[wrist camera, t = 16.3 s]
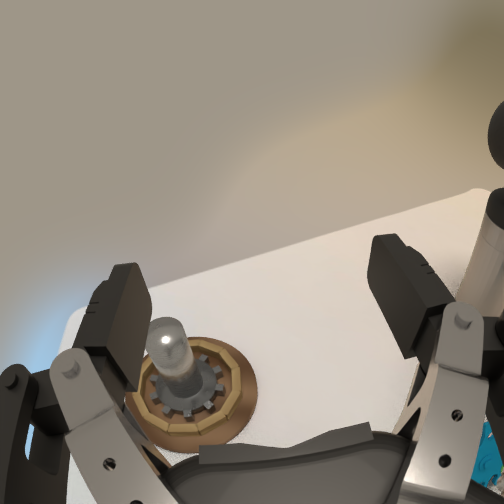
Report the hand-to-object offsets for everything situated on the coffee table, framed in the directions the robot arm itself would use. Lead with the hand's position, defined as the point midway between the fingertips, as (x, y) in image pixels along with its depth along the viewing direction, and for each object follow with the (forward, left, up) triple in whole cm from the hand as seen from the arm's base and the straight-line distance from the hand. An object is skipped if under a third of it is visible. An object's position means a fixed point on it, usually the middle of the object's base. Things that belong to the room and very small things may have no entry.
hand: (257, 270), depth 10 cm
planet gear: (-5, -14, -27) cm, 31 cm away
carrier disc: (-5, -14, -28) cm, 32 cm away
